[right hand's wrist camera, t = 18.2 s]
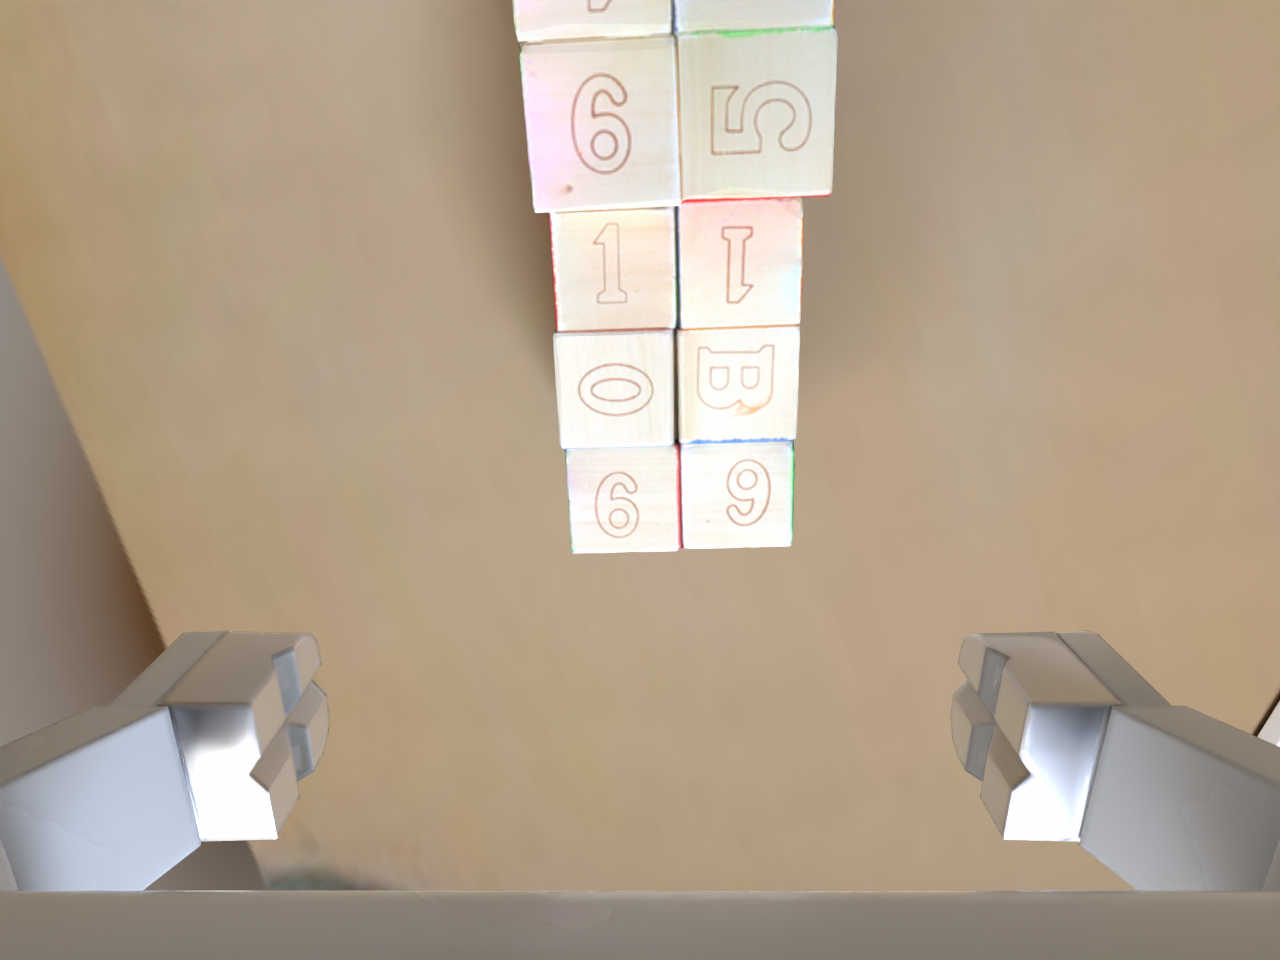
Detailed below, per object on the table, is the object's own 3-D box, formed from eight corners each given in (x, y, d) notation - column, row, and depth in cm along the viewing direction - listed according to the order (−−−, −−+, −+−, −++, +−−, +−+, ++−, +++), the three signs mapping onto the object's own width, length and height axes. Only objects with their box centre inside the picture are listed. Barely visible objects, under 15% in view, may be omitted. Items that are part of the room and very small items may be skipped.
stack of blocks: (749, 447, 31) (815, 608, 19) (585, 452, 31) (551, 613, 19) (764, -257, 23) (886, -690, 12) (548, -249, 23) (456, -673, 12)
